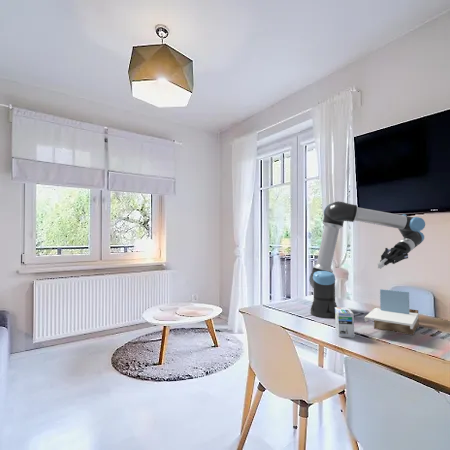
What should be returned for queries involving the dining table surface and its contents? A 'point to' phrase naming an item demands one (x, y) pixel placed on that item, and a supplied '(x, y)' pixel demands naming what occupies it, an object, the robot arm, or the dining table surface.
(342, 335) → the light bulb box
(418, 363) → the dining table surface
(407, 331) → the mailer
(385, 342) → the dining table surface
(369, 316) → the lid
